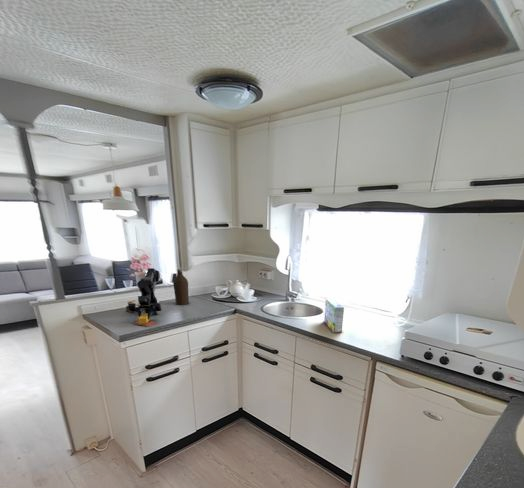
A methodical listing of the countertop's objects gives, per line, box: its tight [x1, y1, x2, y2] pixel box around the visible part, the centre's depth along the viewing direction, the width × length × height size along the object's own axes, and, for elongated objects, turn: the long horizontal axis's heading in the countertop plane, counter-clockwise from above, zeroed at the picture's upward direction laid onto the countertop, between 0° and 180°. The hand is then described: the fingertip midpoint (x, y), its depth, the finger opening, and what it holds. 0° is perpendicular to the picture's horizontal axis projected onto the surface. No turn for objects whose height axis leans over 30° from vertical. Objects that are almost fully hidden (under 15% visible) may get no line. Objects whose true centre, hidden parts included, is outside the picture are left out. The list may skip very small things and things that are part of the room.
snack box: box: [323, 298, 345, 333], centre depth 193 cm, size 21×6×15 cm, turn 5°
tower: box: [125, 299, 143, 314], centre depth 220 cm, size 7×7×7 cm
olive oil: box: [172, 268, 190, 306], centre depth 238 cm, size 11×11×25 cm
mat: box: [133, 320, 157, 327], centre depth 197 cm, size 11×8×1 cm
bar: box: [137, 312, 151, 323], centre depth 196 cm, size 11×4×3 cm, turn 7°
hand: (144, 319), depth 195 cm, fingers closed on bar, 4 cm apart
